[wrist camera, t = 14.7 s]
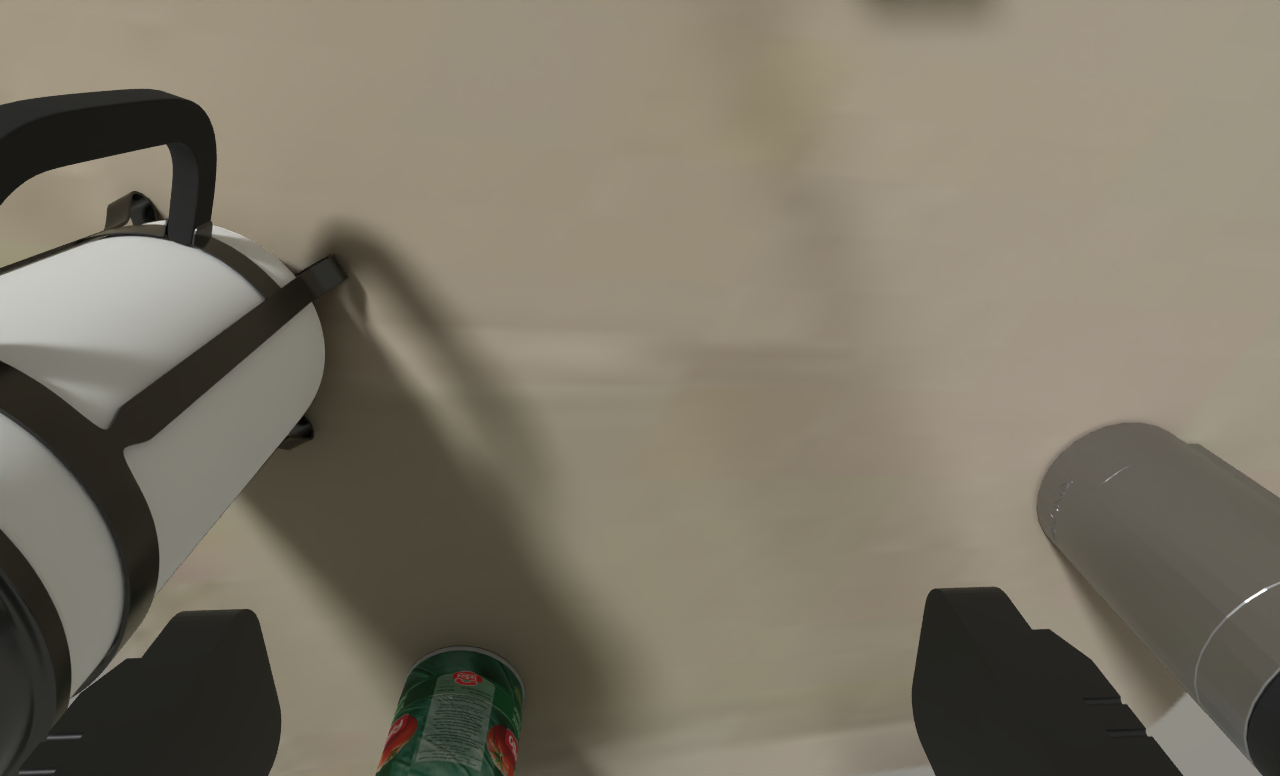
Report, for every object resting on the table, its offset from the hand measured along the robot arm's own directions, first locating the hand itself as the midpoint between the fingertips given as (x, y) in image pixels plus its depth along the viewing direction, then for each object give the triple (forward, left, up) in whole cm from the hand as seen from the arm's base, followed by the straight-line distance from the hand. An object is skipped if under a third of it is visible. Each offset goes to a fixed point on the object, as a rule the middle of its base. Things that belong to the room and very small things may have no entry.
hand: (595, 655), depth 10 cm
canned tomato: (+10, +32, -33) cm, 47 cm away
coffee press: (+20, +5, -33) cm, 39 cm away
